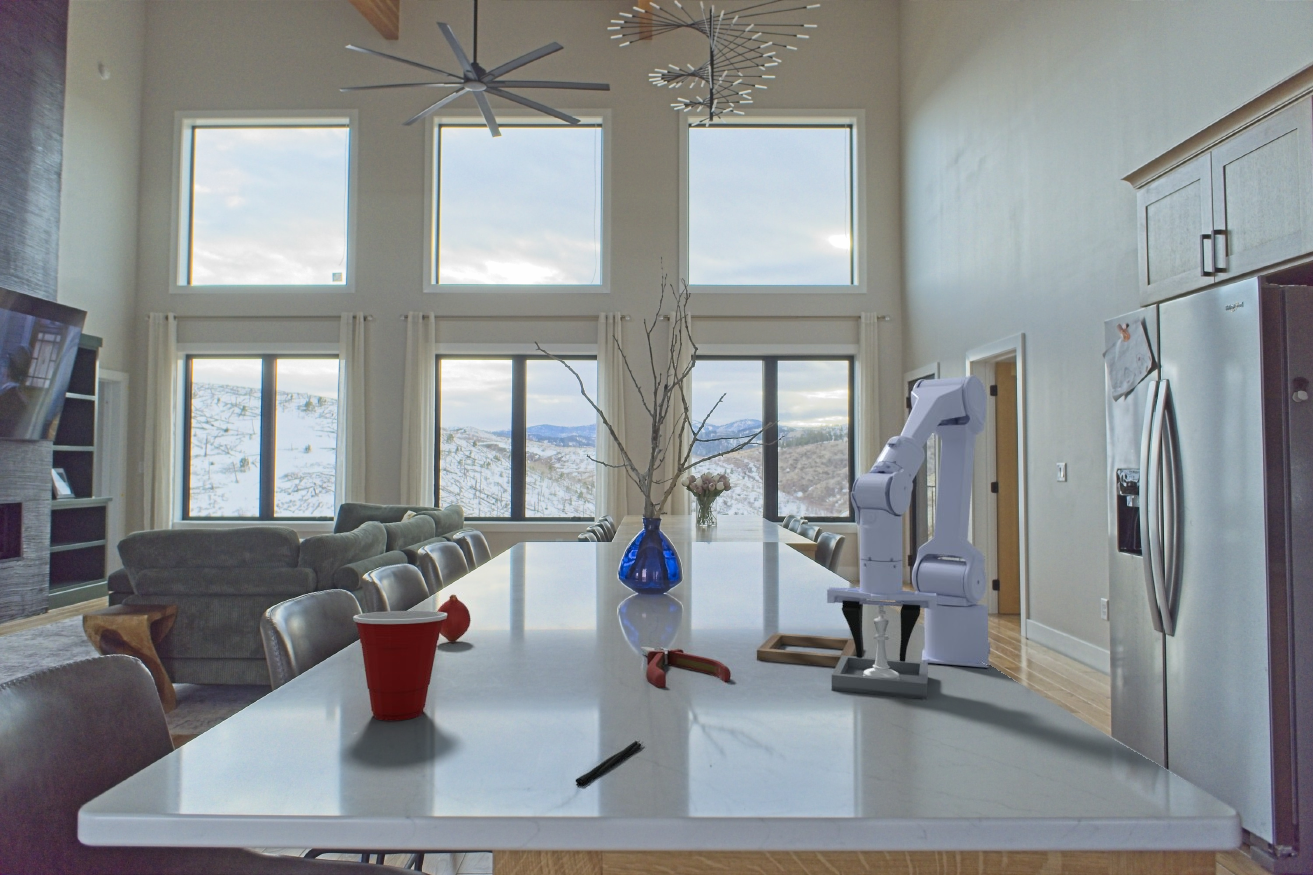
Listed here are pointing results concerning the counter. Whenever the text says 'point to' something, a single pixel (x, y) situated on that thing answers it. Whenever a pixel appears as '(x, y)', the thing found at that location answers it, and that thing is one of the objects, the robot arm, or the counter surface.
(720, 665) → the pliers
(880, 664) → the chess piece
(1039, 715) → the counter surface
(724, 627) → the counter surface
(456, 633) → the onion
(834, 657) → the brown square frame
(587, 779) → the electrical cable
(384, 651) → the plastic cup
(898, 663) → the tray
